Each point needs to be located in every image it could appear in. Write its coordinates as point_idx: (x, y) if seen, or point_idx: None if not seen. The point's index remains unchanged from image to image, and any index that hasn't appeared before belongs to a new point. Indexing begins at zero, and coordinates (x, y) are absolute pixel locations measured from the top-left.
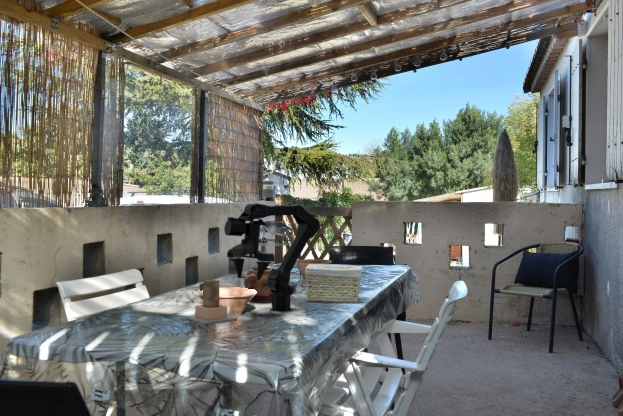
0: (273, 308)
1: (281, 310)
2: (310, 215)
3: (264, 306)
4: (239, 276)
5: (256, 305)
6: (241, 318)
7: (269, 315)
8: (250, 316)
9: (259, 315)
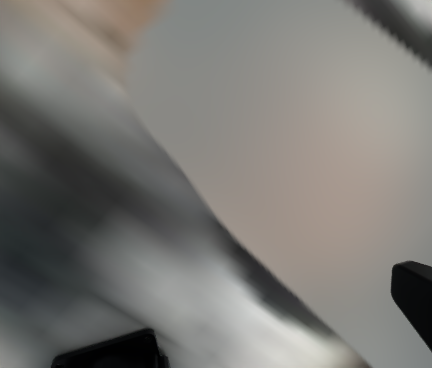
0: (148, 353)
1: (65, 359)
2: None
3: (264, 362)
4: (401, 282)
5: (311, 345)
6: (46, 27)
7: (19, 241)
8: (70, 126)
9: (62, 193)
